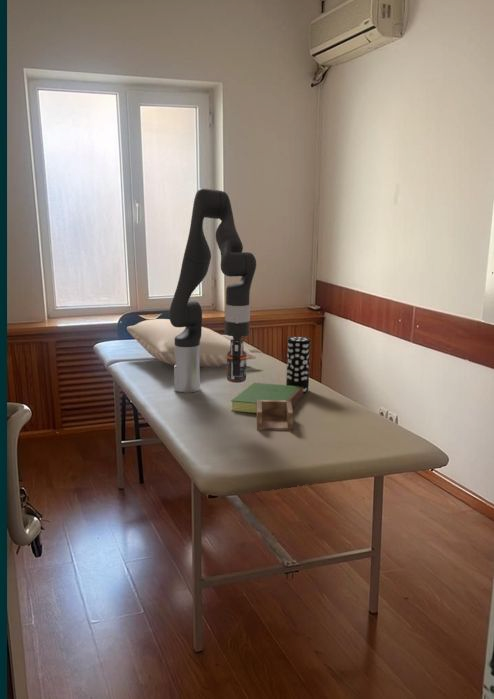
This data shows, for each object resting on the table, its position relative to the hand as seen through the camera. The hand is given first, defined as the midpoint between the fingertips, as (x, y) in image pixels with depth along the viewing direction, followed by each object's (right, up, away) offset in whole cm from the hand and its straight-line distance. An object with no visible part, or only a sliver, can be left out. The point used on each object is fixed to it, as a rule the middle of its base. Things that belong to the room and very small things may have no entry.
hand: (236, 372), depth 189 cm
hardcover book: (+11, -12, +26) cm, 30 cm away
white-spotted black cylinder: (+22, -9, +40) cm, 46 cm away
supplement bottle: (0, -3, +1) cm, 3 cm away
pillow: (-22, +1, +78) cm, 81 cm away
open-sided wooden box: (+12, -16, +6) cm, 21 cm away
